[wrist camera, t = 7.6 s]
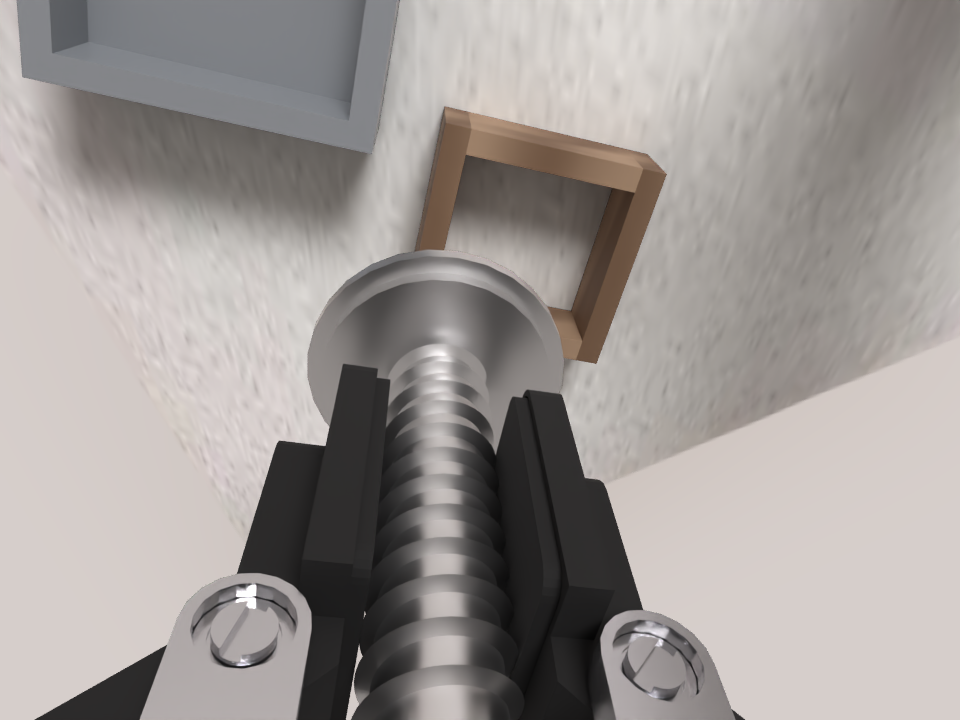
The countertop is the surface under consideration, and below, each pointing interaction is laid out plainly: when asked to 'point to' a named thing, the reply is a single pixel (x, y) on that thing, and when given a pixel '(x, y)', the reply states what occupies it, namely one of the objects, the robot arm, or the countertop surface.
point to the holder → (568, 158)
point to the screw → (438, 472)
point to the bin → (224, 59)
